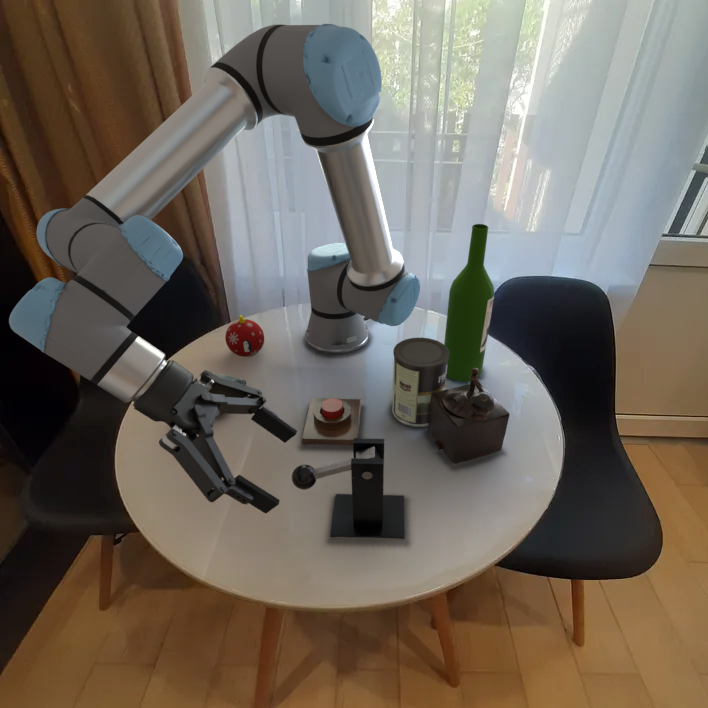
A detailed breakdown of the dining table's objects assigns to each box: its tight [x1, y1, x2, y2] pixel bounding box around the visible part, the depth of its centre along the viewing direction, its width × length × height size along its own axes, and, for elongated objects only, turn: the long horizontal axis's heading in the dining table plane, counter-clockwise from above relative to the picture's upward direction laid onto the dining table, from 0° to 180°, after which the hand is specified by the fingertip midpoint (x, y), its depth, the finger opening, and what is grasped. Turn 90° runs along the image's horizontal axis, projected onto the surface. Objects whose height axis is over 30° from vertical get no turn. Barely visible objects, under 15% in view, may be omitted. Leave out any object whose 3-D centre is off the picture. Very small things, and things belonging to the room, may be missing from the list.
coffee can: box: [391, 337, 449, 428], centre depth 93 cm, size 10×10×14 cm
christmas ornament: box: [224, 314, 265, 358], centre depth 111 cm, size 9×9×10 cm
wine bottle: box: [443, 223, 495, 383], centre depth 100 cm, size 9×9×32 cm
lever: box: [291, 446, 381, 491], centre depth 69 cm, size 13×4×4 cm, turn 89°
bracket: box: [329, 437, 406, 539], centre depth 71 cm, size 11×8×15 cm
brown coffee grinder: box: [426, 368, 510, 465], centre depth 83 cm, size 16×11×18 cm
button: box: [321, 398, 343, 419], centre depth 91 cm, size 4×4×2 cm
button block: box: [301, 397, 362, 446], centre depth 92 cm, size 12×10×4 cm
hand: (282, 469), depth 69 cm, fingers open, 13 cm apart
